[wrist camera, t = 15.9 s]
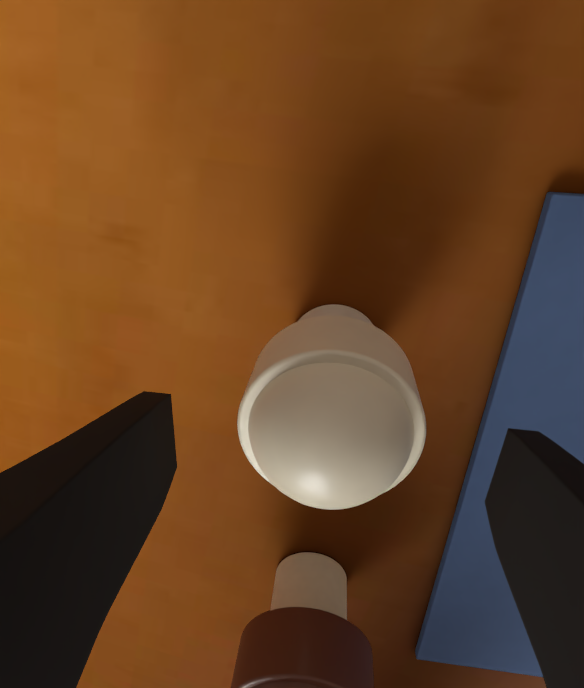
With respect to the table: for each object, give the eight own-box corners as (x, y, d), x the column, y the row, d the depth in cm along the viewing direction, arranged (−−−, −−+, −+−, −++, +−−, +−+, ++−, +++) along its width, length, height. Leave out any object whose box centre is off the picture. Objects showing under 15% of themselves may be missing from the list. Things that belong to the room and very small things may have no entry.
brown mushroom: (361, 619, 20) (368, 839, 13) (254, 604, 20) (215, 812, 14) (375, 543, 17) (391, 765, 11) (256, 529, 18) (210, 735, 12)
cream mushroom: (391, 407, 15) (418, 567, 9) (266, 394, 15) (222, 542, 10) (412, 286, 13) (461, 399, 7) (269, 275, 13) (217, 375, 8)
